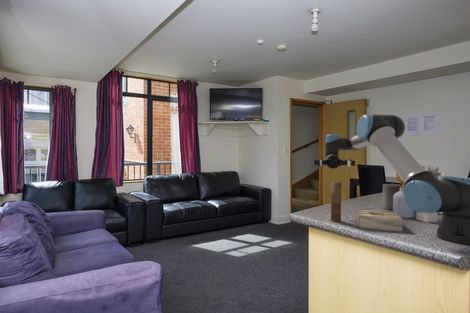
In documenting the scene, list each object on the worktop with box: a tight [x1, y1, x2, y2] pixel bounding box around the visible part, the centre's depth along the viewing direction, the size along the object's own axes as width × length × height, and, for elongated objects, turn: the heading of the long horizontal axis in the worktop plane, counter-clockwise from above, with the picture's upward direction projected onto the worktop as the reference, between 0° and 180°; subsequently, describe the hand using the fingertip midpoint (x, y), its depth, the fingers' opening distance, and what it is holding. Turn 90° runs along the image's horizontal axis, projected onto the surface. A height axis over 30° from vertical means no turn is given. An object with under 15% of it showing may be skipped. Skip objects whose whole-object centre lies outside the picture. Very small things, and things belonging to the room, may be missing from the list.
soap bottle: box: [393, 172, 415, 219], centre depth 152 cm, size 9×9×25 cm
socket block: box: [355, 209, 404, 232], centre depth 135 cm, size 16×16×5 cm
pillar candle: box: [382, 182, 402, 211], centre depth 170 cm, size 10×10×15 cm
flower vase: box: [421, 165, 448, 180], centre depth 163 cm, size 13×18×25 cm
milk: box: [415, 212, 438, 223], centre depth 143 cm, size 6×6×22 cm
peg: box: [330, 181, 342, 223], centre depth 142 cm, size 4×4×18 cm
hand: (335, 163), depth 151 cm, fingers open, 13 cm apart
